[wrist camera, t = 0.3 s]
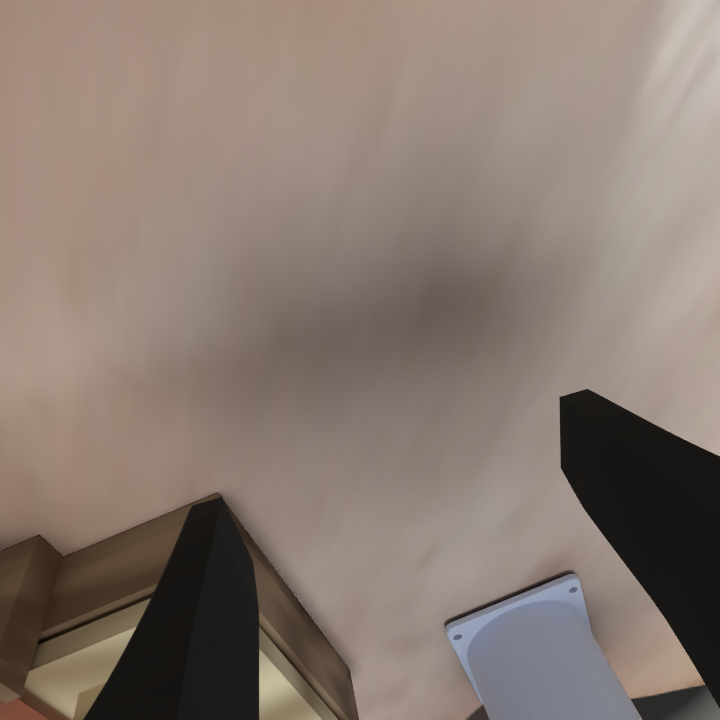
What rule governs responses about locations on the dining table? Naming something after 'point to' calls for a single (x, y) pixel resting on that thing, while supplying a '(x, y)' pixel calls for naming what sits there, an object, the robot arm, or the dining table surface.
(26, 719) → the pink bar
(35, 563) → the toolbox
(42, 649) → the lid
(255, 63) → the dining table surface
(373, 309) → the dining table surface
